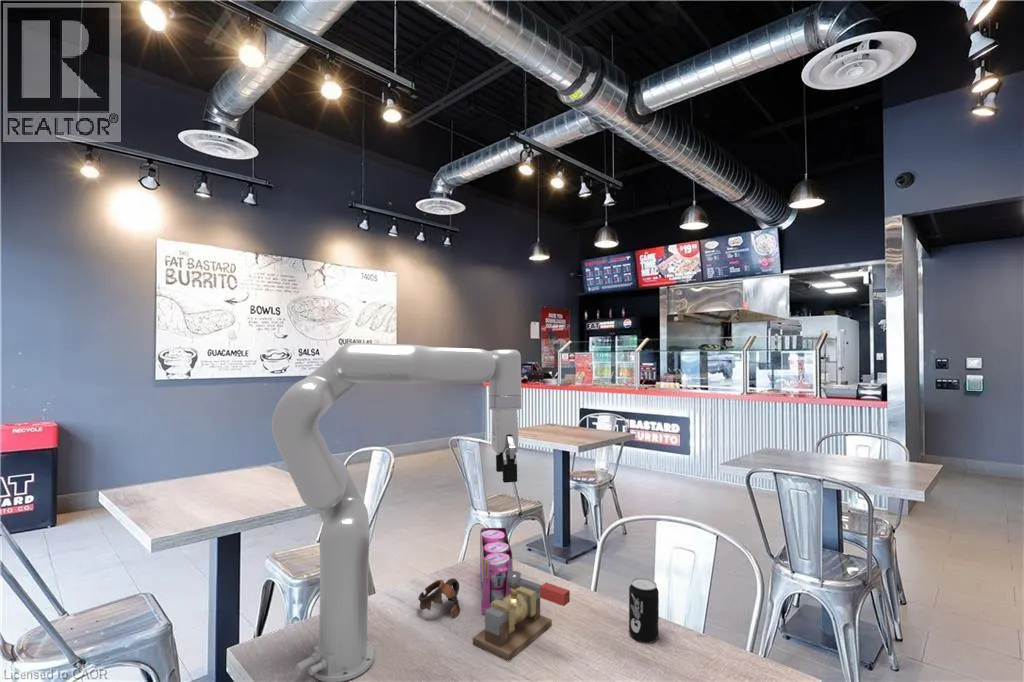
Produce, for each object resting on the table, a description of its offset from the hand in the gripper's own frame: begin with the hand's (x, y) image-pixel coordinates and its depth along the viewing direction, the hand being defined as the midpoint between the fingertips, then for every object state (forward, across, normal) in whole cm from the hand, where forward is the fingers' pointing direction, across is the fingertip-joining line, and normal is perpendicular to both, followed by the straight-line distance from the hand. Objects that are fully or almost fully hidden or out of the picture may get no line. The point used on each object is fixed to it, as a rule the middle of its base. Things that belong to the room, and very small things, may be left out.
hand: (506, 476), depth 112 cm
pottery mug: (+36, -14, -14) cm, 41 cm away
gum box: (+37, -20, 0) cm, 42 cm away
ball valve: (+34, 0, +1) cm, 34 cm away
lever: (+25, +5, +6) cm, 26 cm away
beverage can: (+37, +6, +31) cm, 49 cm away
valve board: (+36, 0, +1) cm, 36 cm away
